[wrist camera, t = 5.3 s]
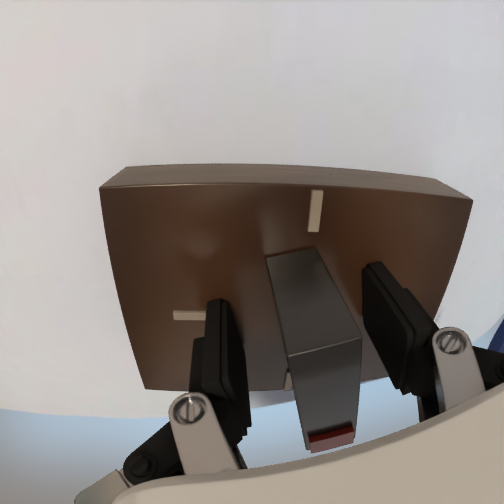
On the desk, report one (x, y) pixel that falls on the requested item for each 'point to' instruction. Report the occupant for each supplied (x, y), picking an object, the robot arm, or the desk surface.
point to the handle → (318, 347)
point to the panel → (264, 252)
